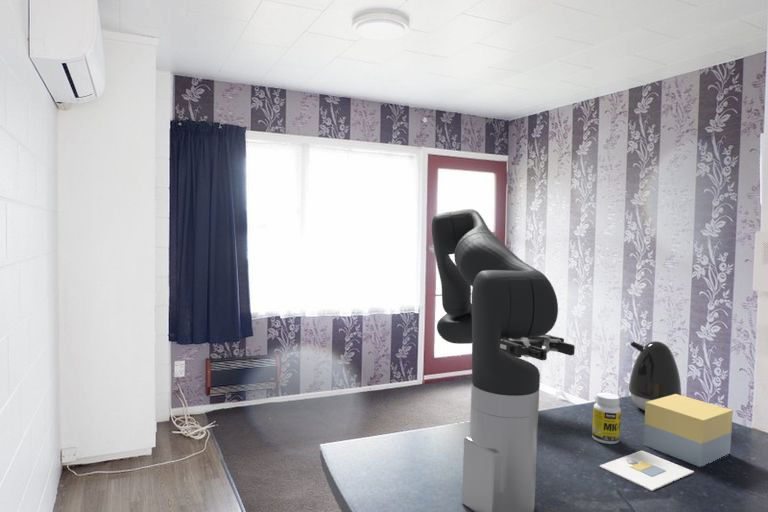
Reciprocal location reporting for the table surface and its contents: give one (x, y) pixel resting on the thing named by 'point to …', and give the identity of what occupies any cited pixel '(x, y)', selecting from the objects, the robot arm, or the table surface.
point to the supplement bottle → (606, 418)
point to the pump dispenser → (653, 374)
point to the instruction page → (646, 470)
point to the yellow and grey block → (688, 429)
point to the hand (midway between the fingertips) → (559, 353)
